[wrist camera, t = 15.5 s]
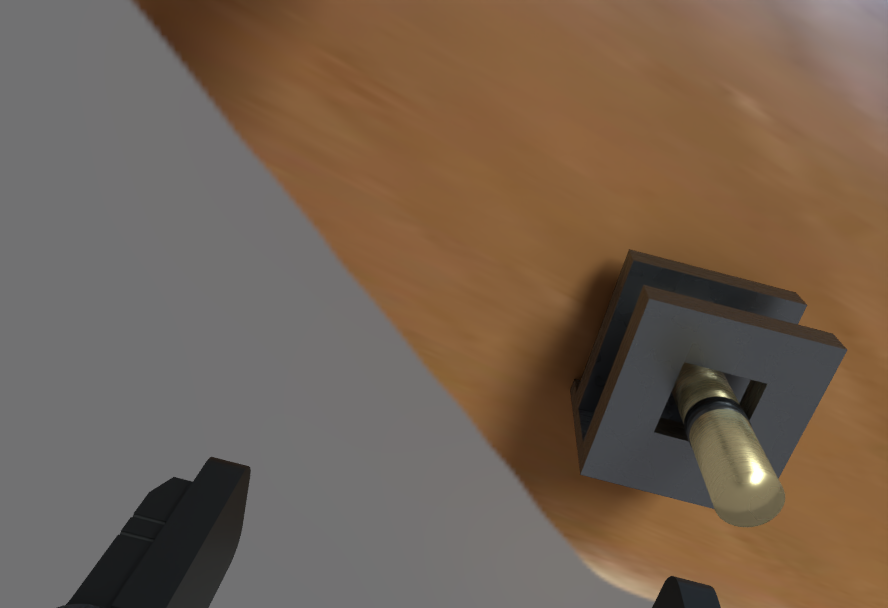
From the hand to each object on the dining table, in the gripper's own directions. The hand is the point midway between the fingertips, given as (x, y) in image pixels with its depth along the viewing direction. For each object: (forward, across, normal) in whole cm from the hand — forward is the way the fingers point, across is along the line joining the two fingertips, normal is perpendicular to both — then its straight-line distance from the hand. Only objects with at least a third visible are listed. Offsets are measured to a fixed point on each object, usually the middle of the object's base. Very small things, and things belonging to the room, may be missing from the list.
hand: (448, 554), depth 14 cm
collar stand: (+36, -15, +9) cm, 40 cm away
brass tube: (+36, -15, +9) cm, 40 cm away
